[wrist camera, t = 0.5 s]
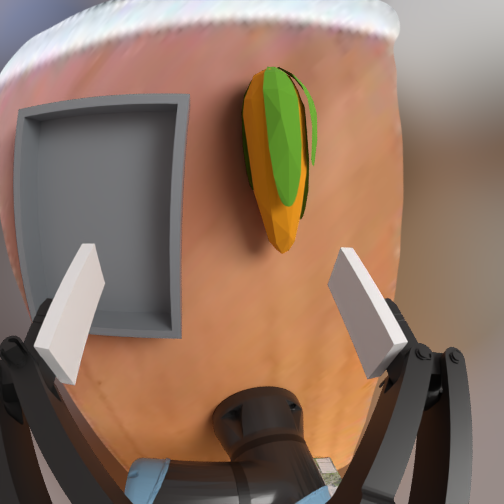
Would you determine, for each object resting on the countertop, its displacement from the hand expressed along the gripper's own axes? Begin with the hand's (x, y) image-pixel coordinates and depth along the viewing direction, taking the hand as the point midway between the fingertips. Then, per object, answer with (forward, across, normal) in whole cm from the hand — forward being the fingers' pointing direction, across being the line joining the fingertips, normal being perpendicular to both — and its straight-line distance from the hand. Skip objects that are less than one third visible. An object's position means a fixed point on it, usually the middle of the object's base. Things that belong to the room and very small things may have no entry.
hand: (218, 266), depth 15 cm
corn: (+19, -6, 0) cm, 20 cm away
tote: (+16, +13, +6) cm, 21 cm away
